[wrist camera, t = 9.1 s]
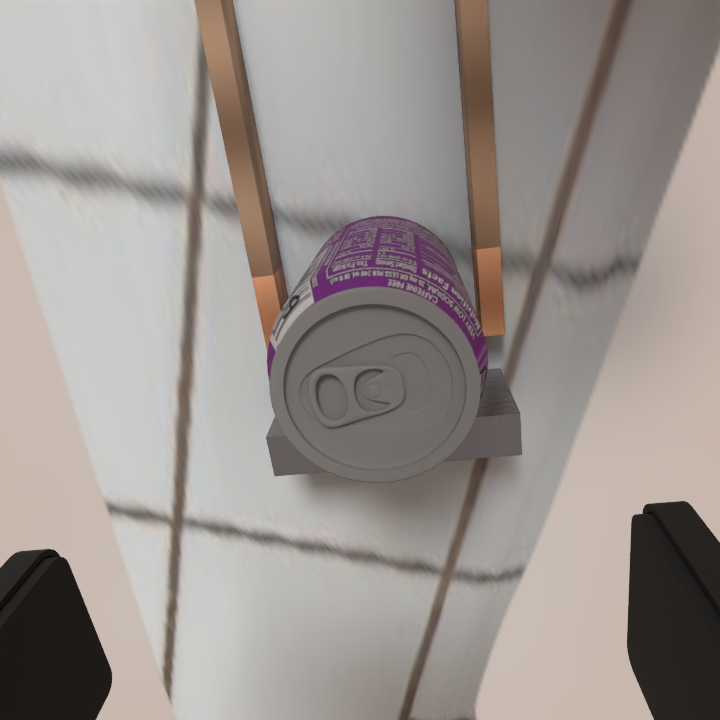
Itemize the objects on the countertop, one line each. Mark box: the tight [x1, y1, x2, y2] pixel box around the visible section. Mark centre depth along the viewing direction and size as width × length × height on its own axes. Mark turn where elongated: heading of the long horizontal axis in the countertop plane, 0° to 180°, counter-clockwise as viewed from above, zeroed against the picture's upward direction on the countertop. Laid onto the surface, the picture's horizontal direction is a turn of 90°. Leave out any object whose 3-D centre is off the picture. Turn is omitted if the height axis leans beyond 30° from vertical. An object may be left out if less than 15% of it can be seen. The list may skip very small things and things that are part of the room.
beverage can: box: [267, 216, 488, 482], centre depth 22 cm, size 7×7×12 cm
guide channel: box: [194, 0, 522, 476], centre depth 24 cm, size 22×11×5 cm, turn 8°
